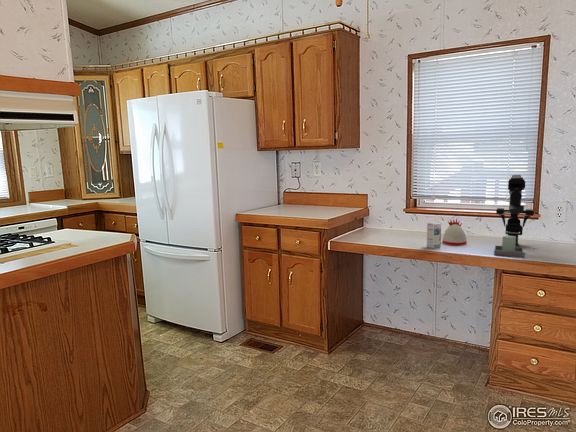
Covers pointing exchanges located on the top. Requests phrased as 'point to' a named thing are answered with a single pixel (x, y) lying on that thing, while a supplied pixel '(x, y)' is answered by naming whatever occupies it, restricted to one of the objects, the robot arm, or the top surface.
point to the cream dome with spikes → (454, 234)
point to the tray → (517, 252)
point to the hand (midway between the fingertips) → (513, 226)
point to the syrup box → (434, 234)
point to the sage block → (509, 243)
